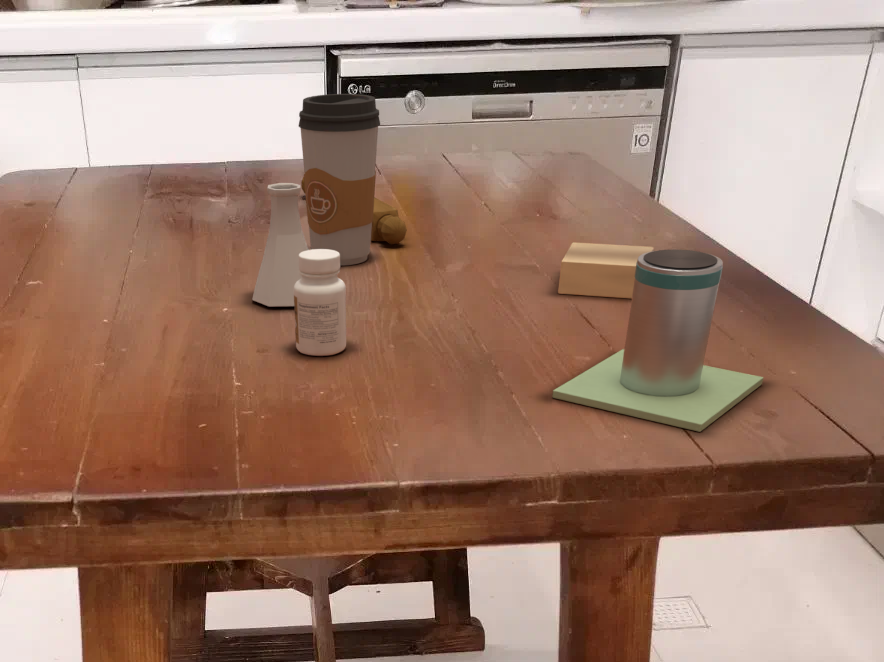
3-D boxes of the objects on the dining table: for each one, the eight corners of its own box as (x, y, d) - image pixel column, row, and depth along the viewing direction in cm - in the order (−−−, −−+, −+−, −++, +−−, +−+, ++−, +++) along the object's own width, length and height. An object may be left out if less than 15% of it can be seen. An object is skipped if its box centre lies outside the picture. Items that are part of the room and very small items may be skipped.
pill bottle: (309, 338, 98) (307, 245, 93) (354, 344, 96) (354, 249, 91) (286, 353, 94) (283, 257, 90) (332, 359, 93) (331, 262, 88)
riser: (568, 273, 112) (572, 242, 111) (648, 278, 110) (653, 246, 109) (557, 293, 107) (561, 261, 105) (641, 299, 105) (646, 266, 103)
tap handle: (321, 169, 143) (411, 216, 120) (322, 195, 145) (410, 246, 122) (299, 171, 142) (385, 219, 120) (300, 197, 144) (385, 249, 122)
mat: (762, 384, 86) (764, 376, 86) (700, 432, 79) (701, 424, 78) (621, 355, 92) (622, 348, 92) (551, 397, 85) (552, 390, 84)
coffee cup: (286, 260, 119) (280, 101, 109) (336, 245, 124) (334, 91, 114) (345, 272, 114) (344, 107, 105) (394, 256, 119) (397, 96, 110)
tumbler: (640, 245, 83) (633, 266, 78) (725, 250, 81) (722, 271, 77) (623, 366, 88) (615, 392, 84) (701, 373, 87) (698, 400, 82)
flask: (242, 293, 109) (236, 182, 103) (312, 285, 111) (309, 175, 105) (262, 313, 104) (256, 197, 98) (334, 304, 105) (333, 190, 99)
